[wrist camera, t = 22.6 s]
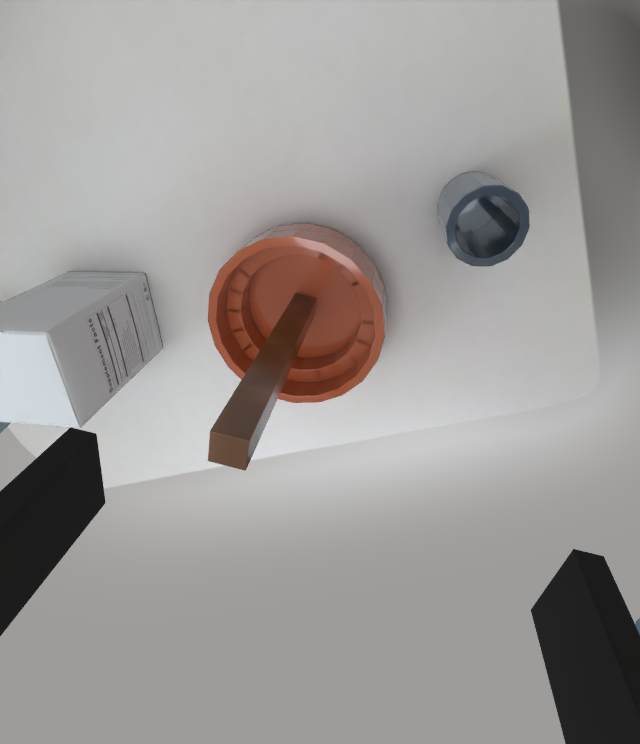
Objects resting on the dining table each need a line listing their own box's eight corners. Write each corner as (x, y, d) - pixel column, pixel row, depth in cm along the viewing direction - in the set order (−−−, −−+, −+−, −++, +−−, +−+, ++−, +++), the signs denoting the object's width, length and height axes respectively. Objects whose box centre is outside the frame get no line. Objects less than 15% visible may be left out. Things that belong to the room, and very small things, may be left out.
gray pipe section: (512, 178, 35) (543, 194, 28) (487, 243, 38) (509, 274, 30) (449, 164, 36) (462, 176, 28) (428, 230, 38) (435, 257, 31)
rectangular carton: (91, 346, 50) (-15, 424, 38) (67, 269, 46) (-63, 327, 33) (165, 350, 49) (81, 432, 36) (147, 271, 45) (44, 332, 32)
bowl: (405, 243, 39) (406, 262, 34) (364, 387, 47) (360, 419, 42) (237, 204, 40) (213, 217, 35) (225, 352, 48) (204, 380, 43)
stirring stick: (317, 298, 42) (249, 441, 23) (313, 318, 43) (245, 471, 24) (295, 292, 42) (209, 430, 23) (291, 313, 43) (207, 461, 25)
